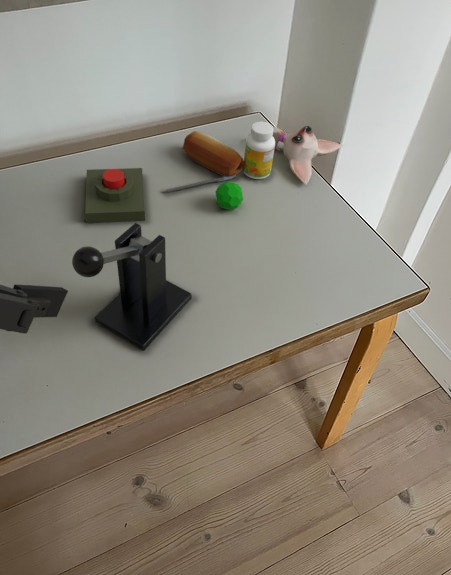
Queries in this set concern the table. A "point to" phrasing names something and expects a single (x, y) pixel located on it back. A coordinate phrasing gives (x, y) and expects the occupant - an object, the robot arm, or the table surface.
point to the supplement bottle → (259, 151)
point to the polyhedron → (229, 195)
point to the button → (113, 179)
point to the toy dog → (303, 150)
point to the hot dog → (213, 154)
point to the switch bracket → (142, 294)
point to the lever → (105, 256)
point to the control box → (114, 197)
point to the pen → (201, 183)
